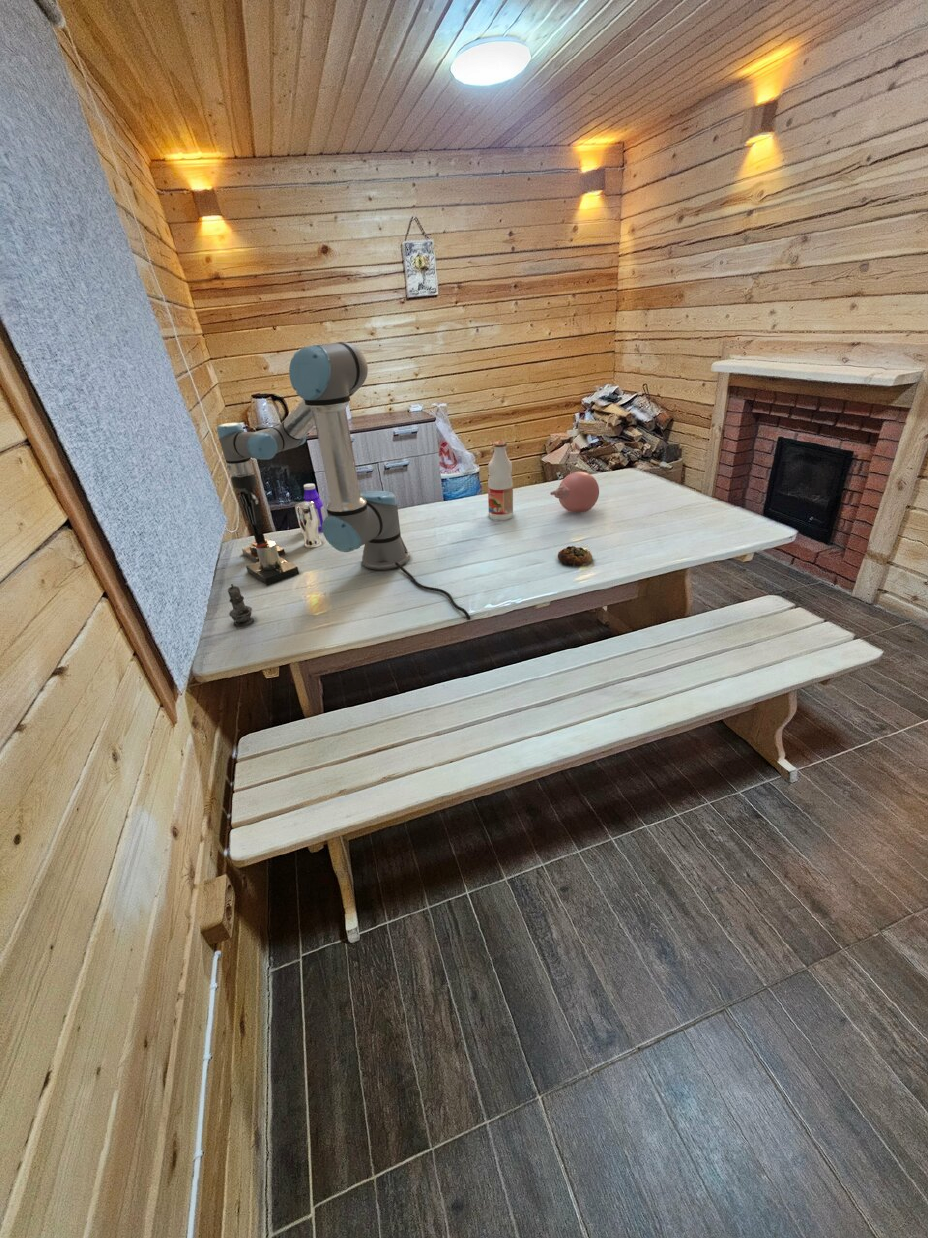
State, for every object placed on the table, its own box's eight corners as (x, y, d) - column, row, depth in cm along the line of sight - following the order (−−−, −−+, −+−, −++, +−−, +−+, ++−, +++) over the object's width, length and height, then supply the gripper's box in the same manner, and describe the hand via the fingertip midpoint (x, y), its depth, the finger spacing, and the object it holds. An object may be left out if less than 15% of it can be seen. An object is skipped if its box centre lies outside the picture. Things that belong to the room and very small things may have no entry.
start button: (272, 547, 181) (271, 542, 180) (258, 551, 178) (257, 546, 177) (265, 543, 184) (264, 538, 183) (252, 547, 181) (251, 542, 180)
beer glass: (318, 548, 184) (309, 508, 176) (300, 548, 185) (290, 507, 177) (326, 540, 190) (318, 501, 182) (308, 540, 191) (299, 500, 183)
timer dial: (276, 560, 171) (270, 538, 167) (284, 565, 167) (278, 543, 163) (258, 566, 168) (252, 544, 164) (266, 572, 164) (259, 549, 160)
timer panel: (299, 573, 167) (297, 566, 166) (267, 585, 161) (265, 578, 160) (278, 561, 176) (277, 554, 175) (247, 572, 170) (245, 565, 168)
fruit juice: (515, 519, 199) (515, 444, 184) (491, 522, 198) (489, 446, 183) (509, 511, 207) (509, 438, 192) (486, 513, 206) (484, 440, 191)
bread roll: (553, 564, 163) (555, 549, 161) (560, 555, 172) (562, 540, 170) (589, 570, 159) (591, 554, 157) (594, 559, 169) (596, 544, 167)
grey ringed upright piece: (236, 617, 145) (223, 579, 139) (257, 616, 145) (246, 577, 139) (230, 629, 140) (216, 590, 134) (252, 627, 140) (239, 588, 134)
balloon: (539, 510, 205) (540, 472, 197) (584, 502, 210) (586, 464, 202) (558, 523, 193) (560, 482, 185) (605, 514, 198) (609, 474, 190)
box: (285, 554, 181) (282, 543, 179) (258, 563, 176) (255, 552, 173) (269, 545, 189) (267, 535, 187) (243, 554, 183) (240, 543, 181)
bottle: (330, 527, 201) (321, 483, 192) (322, 532, 197) (313, 487, 188) (314, 525, 204) (304, 482, 195) (305, 531, 199) (296, 486, 190)
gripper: (222, 473, 169) (242, 540, 182) (239, 480, 161) (258, 550, 174) (244, 468, 174) (262, 534, 186) (262, 474, 165) (279, 543, 178)
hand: (260, 541), depth 180 cm, fingers closed
